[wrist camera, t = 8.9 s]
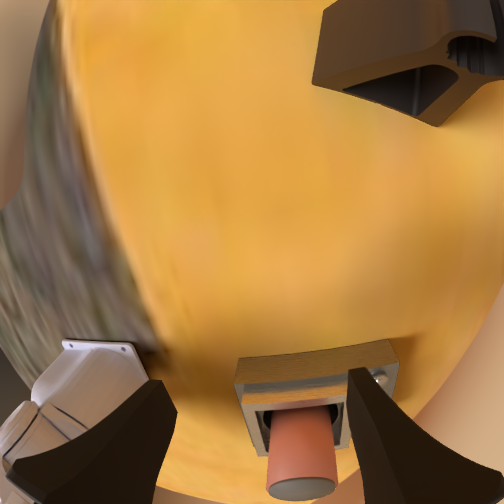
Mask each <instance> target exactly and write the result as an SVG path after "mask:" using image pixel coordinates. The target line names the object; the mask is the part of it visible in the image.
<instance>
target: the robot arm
mask: <svg viewBox="0 0 504 504" xmlns="http://www.w3.org/2000/svg"><path fill="white" fill-rule="evenodd" d="M62 345H63V347H64V349H65V350H64V351H63V352H62V353H61V354H60V355H59V356H58V357H57V358H56V359H55V360H54V361H53V363H52V364H51V365H50V366H49V367H48V368H47V369H46V370H45V371H44V372H43V373H42V374H41V376H40V377H39V378H38V379H37V380H36V382H35V383H34V386H33V389H32V394H31V401H24V402H23V403H22V404H21V405H20V406H19V407H18V408H17V409H16V410H15V411H14V412H13V413H12V414H11V415H10V416H9V418H8V419H7V420H6V421H5V422H4V424H3V425H2V426H1V428H0V504H152V501H153V495H154V491H155V486H156V481H157V478H158V474H159V471H160V469H161V466H162V463H163V461H164V458H165V455H166V452H167V450H168V447H169V444H170V441H171V439H172V436H173V433H174V428H175V424H176V418H177V413H178V412H177V410H176V408H175V406H174V404H173V402H172V400H171V398H170V396H169V394H168V392H167V390H166V388H165V386H164V384H163V382H162V380H149V378H148V376H147V374H146V372H145V370H144V368H143V366H142V363H141V361H140V359H139V357H138V355H137V353H136V350H135V348H134V346H133V345H132V344H130V343H121V342H97V341H81V340H68V339H64V340H63V341H62ZM346 408H347V415H348V422H349V428H350V432H351V435H352V439H353V443H354V447H355V450H356V454H357V458H358V462H359V466H360V470H361V474H362V479H363V487H364V496H365V504H496V503H498V502H499V501H500V500H502V499H503V498H504V477H503V475H502V473H501V472H499V471H497V470H494V469H491V468H488V467H485V466H483V465H480V464H478V463H476V462H473V461H471V460H469V459H467V458H465V457H463V456H461V455H460V454H458V453H456V452H454V451H453V450H451V449H450V448H448V447H446V446H444V445H443V444H442V443H440V442H439V441H437V440H436V439H434V438H433V437H431V436H430V435H429V434H428V433H427V432H425V431H424V430H423V429H422V428H421V427H419V426H418V425H417V424H416V423H415V422H414V421H413V420H412V419H411V418H409V417H408V416H407V415H406V414H405V413H404V412H403V411H402V410H401V409H400V408H399V407H398V405H397V404H396V403H395V402H394V401H393V400H392V399H391V398H390V397H389V396H388V394H387V393H386V392H385V391H384V390H383V389H382V387H381V386H380V385H379V384H378V382H377V381H376V380H375V379H374V377H373V376H372V375H371V373H370V372H369V371H368V369H367V368H366V367H360V368H355V369H349V370H348V385H347V397H346Z"/></svg>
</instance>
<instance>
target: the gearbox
mask: <svg viewBox="0 0 504 504" xmlns="http://www.w3.org/2000/svg"><path fill="white" fill-rule="evenodd" d="M399 364H400V361H399V359H398V358H397V356H396V354H395V352H394V350H393V348H392V346H391V344H390V342H389V340H388V339H385V340H380V341H375V342H370V343H364V344H359V345H353V346H347V347H341V348H334V349H328V350H321V351H313V352H305V353H297V354H287V355H277V356H266V357H253V358H239V360H238V365H237V370H236V375H235V380H234V387H235V390H236V394H237V397H238V400H239V403H240V407H241V410H242V413H243V416H244V419H245V422H246V425H247V428H248V431H249V434H250V437H251V440H252V443H253V446H254V447H255V449H256V452H257V455H258V456H269V445H270V431H271V415H272V412H273V410H280V409H292V408H303V407H311V406H319V405H327V406H328V408H329V410H330V417H331V424H332V432H333V440H334V448H335V450H338V449H344V448H348V447H349V441H350V437H352V435H351V432H350V428H349V422H348V415H347V408H346V397H347V385H348V370H349V369H355V368H360V367H366V368H367V369H368V371H369V372H370V373H371V375H372V376H373V377H374V379H375V380H376V381H377V382H378V384H379V385H380V386H381V387H382V389H383V390H384V391H385V392H386V393H387V394H388V396H389V397H390V398H391V399H392V396H393V392H394V388H395V383H396V379H397V374H398V369H399Z"/></svg>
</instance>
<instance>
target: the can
mask: <svg viewBox="0 0 504 504" xmlns="http://www.w3.org/2000/svg"><path fill="white" fill-rule="evenodd" d="M337 486H338V476H337V466H336V457H335V448H334V440H333V432H332V424H331V417H330V410H329V408H328V406H327V405H319V406H311V407H303V408H292V409H280V410H273V412H272V415H271V431H270V445H269V458H268V471H267V483H266V490H267V492H268V493H269V494H270V495H271V496H272V497H274V498H277V499H280V500H286V501H306V500H313V499H318V498H321V497H324V496H326V495H329V494H331V493H332V492H333V491H334V490H335V488H336V487H337Z"/></svg>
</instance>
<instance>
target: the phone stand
mask: <svg viewBox="0 0 504 504" xmlns="http://www.w3.org/2000/svg"><path fill="white" fill-rule="evenodd" d="M498 80H504V0H338V1H336V2H335V3H333V4H332V5H330V6H329V7H327V8H326V9H325V10H324V11H323V17H322V23H321V30H320V36H319V42H318V48H317V54H316V60H315V66H314V72H313V77H312V84H313V85H315V86H319V87H323V88H327V89H331V90H335V91H338V92H342V93H345V94H349V95H352V96H355V97H359V98H362V99H365V100H368V101H371V102H374V103H379V104H381V105H382V106H385V107H388V108H391V109H393V110H396V111H399V112H401V113H404V114H406V115H409V116H411V117H413V118H416V119H418V120H420V121H423V122H425V123H427V124H429V125H431V126H435V127H438V126H439V125H440V124H442V123H443V122H444V121H445V120H446V119H447V118H448V117H449V116H450V115H451V114H452V113H453V112H455V111H456V110H457V109H458V108H459V107H460V106H461V105H462V104H463V103H464V102H465V101H466V100H467V99H468V98H469V97H470V96H471V95H473V94H474V93H475V92H476V91H477V90H478V89H479V88H480V87H481V86H482V85H484V84H486V83H489V82H492V81H498Z"/></svg>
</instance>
